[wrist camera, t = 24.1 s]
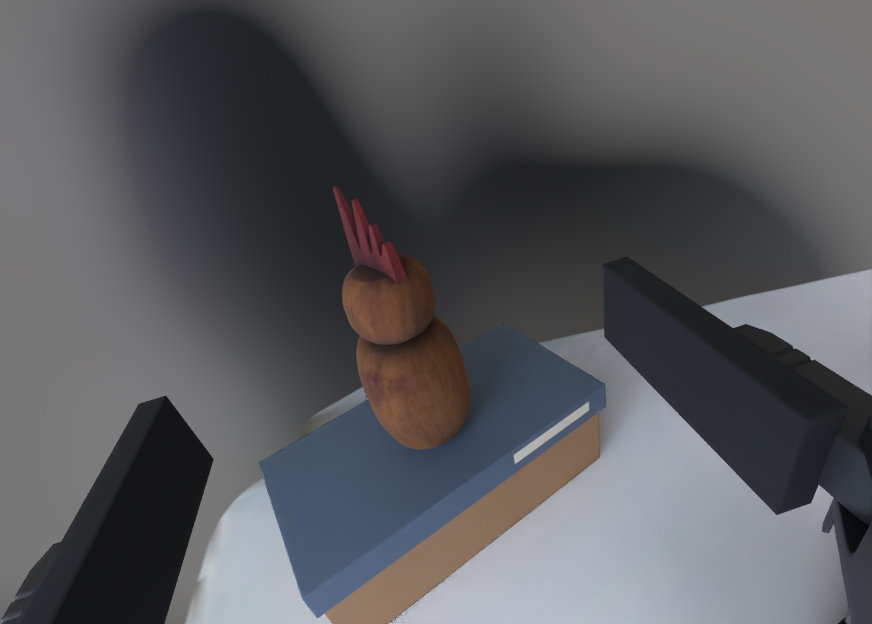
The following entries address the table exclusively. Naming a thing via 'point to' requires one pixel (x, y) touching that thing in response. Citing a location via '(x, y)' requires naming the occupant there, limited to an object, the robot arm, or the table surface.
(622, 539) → the table surface
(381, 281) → the wooden figurine
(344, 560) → the shoebox
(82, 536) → the robot arm
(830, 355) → the table surface
